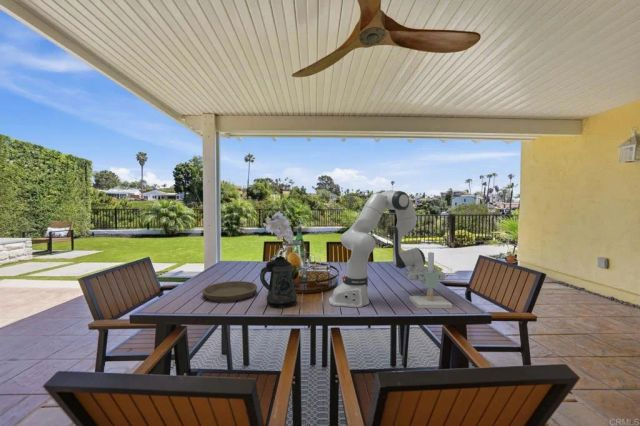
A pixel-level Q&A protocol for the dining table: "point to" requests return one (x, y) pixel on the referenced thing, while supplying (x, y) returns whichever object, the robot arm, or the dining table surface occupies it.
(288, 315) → the dining table surface
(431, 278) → the sleeve
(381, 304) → the dining table surface
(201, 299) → the dining table surface
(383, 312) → the dining table surface
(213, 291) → the plant saucer
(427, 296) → the post stand
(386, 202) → the robot arm
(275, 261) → the beer stein
